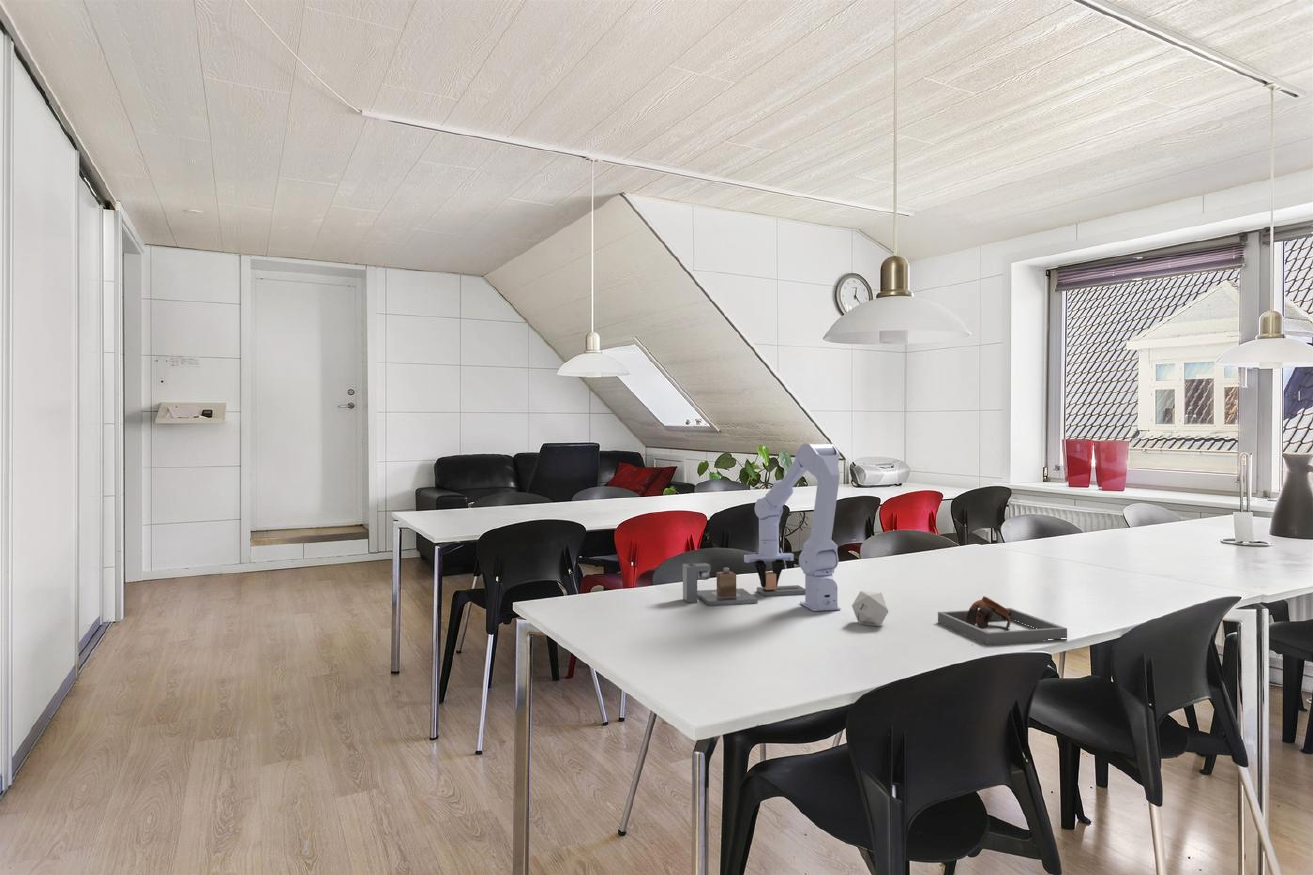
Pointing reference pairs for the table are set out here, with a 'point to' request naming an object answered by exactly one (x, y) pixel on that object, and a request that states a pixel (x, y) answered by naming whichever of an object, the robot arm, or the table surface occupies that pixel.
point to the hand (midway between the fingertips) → (769, 586)
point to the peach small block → (770, 581)
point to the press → (709, 595)
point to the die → (870, 608)
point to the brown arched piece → (986, 612)
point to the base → (782, 591)
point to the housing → (726, 583)
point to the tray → (1042, 632)
